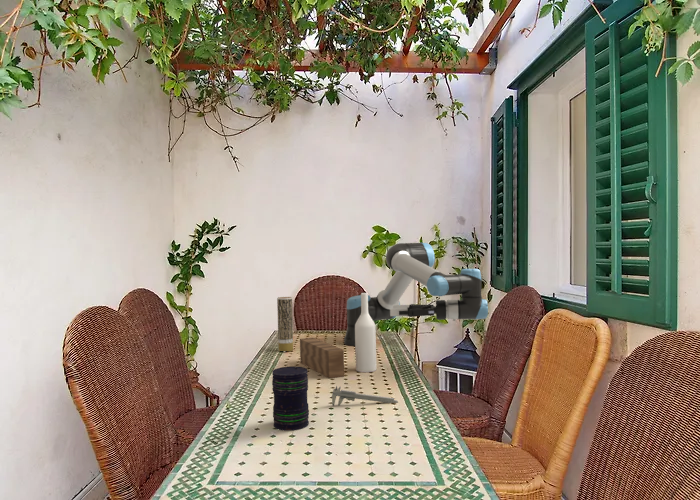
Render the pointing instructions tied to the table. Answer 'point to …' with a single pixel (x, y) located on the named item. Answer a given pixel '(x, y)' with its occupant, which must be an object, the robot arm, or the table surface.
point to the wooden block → (322, 357)
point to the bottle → (365, 339)
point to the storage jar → (290, 398)
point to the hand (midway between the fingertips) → (391, 310)
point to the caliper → (357, 396)
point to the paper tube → (285, 323)
